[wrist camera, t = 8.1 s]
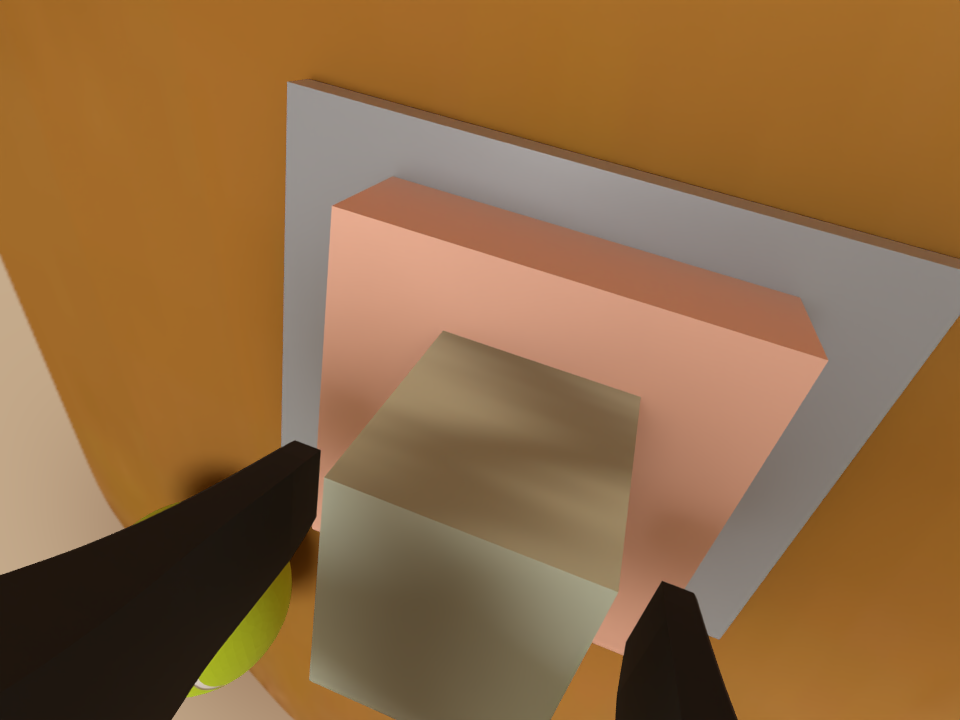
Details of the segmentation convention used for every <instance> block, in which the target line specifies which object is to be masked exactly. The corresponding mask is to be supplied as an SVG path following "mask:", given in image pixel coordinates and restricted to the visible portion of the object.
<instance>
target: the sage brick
mask: <svg viewBox="0 0 960 720" xmlns="http://www.w3.org/2000/svg"><path fill="white" fill-rule="evenodd" d="M640 399H641V397H639V396H636V395H633V394H630V393H627V392H624V391H621V390H618V389H615V388H612V387H609V386H606V385H603V384H600V383H598V382H595V381H592V380H589V379H586V378H583V377H580V376H577V375H574V374H571V373H568V372H565V371H562V370H559V369H556V368H553V367H550V366H547V365H544V364H541V363H538V362H535V361H532V360H529V359H526V358H523V357H520V356H517V355H514V354H511V353H508V352H505V351H502V350H500V349H497V348H494V347H491V346H488V345H485V344H482V343H479V342H476V341H473V340H470V339H467V338H464V337H461V336H458V335H455V334H452V333H449V332H446V331H442V333H441V334H440V335H439V336H438V338H437V339H436V340H435V341H434V342H433V344H432V345H431V346H430V347H429V349H428V350H427V351H426V352H425V354H424V355H423V356H422V357H421V359H420V360H419V361H418V362H417V363H416V365H415V366H414V367H413V368H412V370H411V371H410V372H409V373H408V375H407V376H406V377H405V378H404V379H403V381H402V382H401V383H400V384H399V386H398V387H397V388H396V389H395V391H394V392H393V393H392V394H391V396H390V397H389V398H388V399H387V400H386V402H385V403H384V404H383V405H382V407H381V408H380V409H379V410H378V412H377V413H376V414H375V415H374V416H373V418H372V419H371V420H370V421H369V423H368V424H367V425H366V426H365V428H364V429H363V430H362V431H361V433H360V434H359V435H358V436H357V437H356V439H355V440H354V441H353V442H352V444H351V445H350V446H349V447H348V449H347V450H346V451H345V452H344V453H343V455H342V456H341V457H340V458H339V460H338V461H337V462H336V463H335V465H334V466H333V467H332V468H331V470H330V471H329V472H328V473H327V474H326V476H325V477H324V486H323V500H322V514H321V527H320V541H319V555H318V568H317V582H316V596H315V609H314V623H313V637H312V650H311V664H310V678H309V680H310V681H312V682H314V683H316V684H319V685H321V686H323V687H325V688H327V689H330V690H332V691H334V692H336V693H338V694H341V695H343V696H345V697H347V698H350V699H352V700H354V701H356V702H358V703H361V704H363V705H365V706H367V707H369V708H372V709H374V710H376V711H378V712H381V713H383V714H385V715H387V716H389V717H392V718H394V719H396V720H551V718H552V716H553V714H554V712H555V710H556V708H557V706H558V705H559V703H560V701H561V699H562V697H563V695H564V693H565V691H566V690H567V688H568V686H569V684H570V682H571V680H572V678H573V676H574V675H575V673H576V671H577V669H578V667H579V665H580V663H581V661H582V660H583V658H584V656H585V654H586V652H587V650H588V648H589V647H590V645H591V643H592V641H593V639H594V637H595V635H596V633H597V632H598V630H599V628H600V626H601V624H602V622H603V620H604V618H605V617H606V615H607V613H608V611H609V609H610V607H611V605H612V603H613V602H614V600H615V598H616V596H617V594H618V592H619V583H620V574H621V565H622V557H623V548H624V539H625V530H626V522H627V513H628V504H629V495H630V487H631V478H632V469H633V461H634V452H635V443H636V434H637V426H638V417H639V408H640Z"/></svg>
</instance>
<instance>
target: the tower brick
mask: <svg viewBox="0 0 960 720" xmlns="http://www.w3.org/2000/svg"><path fill="white" fill-rule="evenodd" d="M442 331H446V332H449V333H452V334H455V335H458V336H461V337H464V338H467V339H470V340H473V341H476V342H479V343H482V344H485V345H488V346H491V347H494V348H497V349H500V350H502V351H505V352H508V353H511V354H514V355H517V356H520V357H523V358H526V359H529V360H532V361H535V362H538V363H541V364H544V365H547V366H550V367H553V368H556V369H559V370H562V371H565V372H568V373H571V374H574V375H577V376H580V377H583V378H586V379H589V380H592V381H595V382H598V383H600V384H603V385H606V386H609V387H612V388H615V389H618V390H621V391H624V392H627V393H630V394H633V395H636V396H639V397H641V399H640V408H639V417H638V426H637V434H636V443H635V452H634V461H633V469H632V478H631V487H630V495H629V504H628V513H627V522H626V530H625V539H624V548H623V557H622V565H621V574H620V583H619V592H618V594H617V596H616V598H615V600H614V602H613V603H612V605H611V607H610V609H609V611H608V613H607V615H606V617H605V618H604V620H603V622H602V624H601V626H600V628H599V630H598V632H597V633H596V635H595V637H594V639H593V641H592V643H594V644H597V645H599V646H602V647H604V648H607V649H609V650H611V651H614V652H616V653H619V654H621V655H624V650H625V644H626V641H627V639H628V637H629V636H630V634H631V632H632V631H633V629H634V627H635V626H636V624H637V622H638V620H639V619H640V617H641V615H642V614H643V612H644V610H645V609H646V607H647V605H648V604H649V602H650V600H651V598H652V597H653V595H654V593H655V592H656V590H657V588H658V587H659V585H660V583H661V581H664V582H667V583H669V584H672V585H675V586H677V587H680V588H682V589H685V587H686V586H687V584H688V583H689V581H690V579H691V578H692V576H693V575H694V573H695V571H696V570H697V568H698V567H699V565H700V563H701V562H702V560H703V559H704V557H705V556H706V554H707V552H708V551H709V549H710V548H711V546H712V544H713V543H714V541H715V540H716V538H717V537H718V535H719V533H720V532H721V530H722V529H723V527H724V525H725V524H726V522H727V521H728V519H729V518H730V516H731V514H732V513H733V511H734V510H735V508H736V506H737V505H738V503H739V502H740V500H741V498H742V497H743V495H744V494H745V492H746V491H747V489H748V487H749V486H750V484H751V483H752V481H753V479H754V478H755V476H756V475H757V473H758V472H759V470H760V468H761V467H762V465H763V464H764V462H765V460H766V459H767V457H768V456H769V454H770V452H771V451H772V449H773V448H774V446H775V445H776V443H777V441H778V440H779V438H780V437H781V435H782V433H783V432H784V430H785V429H786V427H787V426H788V424H789V422H790V421H791V419H792V418H793V416H794V414H795V413H796V411H797V410H798V408H799V407H800V405H801V403H802V402H803V400H804V399H805V397H806V395H807V394H808V392H809V391H810V389H811V387H812V386H813V384H814V383H815V381H816V380H817V378H818V376H819V375H820V373H821V372H822V370H823V368H824V367H825V365H826V364H827V362H828V361H829V360H828V358H827V356H826V354H825V352H824V349H823V347H822V345H821V343H820V340H819V338H818V336H817V334H816V332H815V329H814V327H813V325H812V323H811V321H810V318H809V316H808V314H807V312H806V309H805V307H804V305H803V303H802V301H801V298H800V297H797V296H793V295H790V294H786V293H783V292H780V291H776V290H773V289H770V288H766V287H763V286H760V285H756V284H753V283H750V282H746V281H743V280H739V279H736V278H733V277H729V276H726V275H723V274H719V273H716V272H713V271H709V270H706V269H702V268H699V267H696V266H692V265H689V264H686V263H682V262H679V261H676V260H672V259H669V258H666V257H662V256H659V255H655V254H652V253H649V252H645V251H642V250H639V249H635V248H632V247H629V246H625V245H622V244H619V243H615V242H612V241H608V240H605V239H602V238H598V237H595V236H592V235H588V234H585V233H582V232H578V231H575V230H571V229H568V228H565V227H561V226H558V225H555V224H551V223H548V222H545V221H541V220H538V219H535V218H531V217H528V216H524V215H521V214H518V213H514V212H511V211H508V210H504V209H501V208H498V207H494V206H491V205H488V204H484V203H481V202H477V201H474V200H471V199H467V198H464V197H461V196H457V195H454V194H451V193H447V192H444V191H440V190H437V189H434V188H430V187H427V186H424V185H420V184H417V183H414V182H410V181H407V180H404V179H400V178H397V177H393V176H392V177H390V178H388V179H386V180H384V181H382V182H380V183H378V184H376V185H374V186H372V187H370V188H367V189H365V190H363V191H361V192H359V193H357V194H355V195H353V196H351V197H349V198H347V199H345V200H343V201H341V202H339V203H337V204H334V205H332V211H331V227H330V244H329V260H328V276H327V293H326V309H325V325H324V342H323V358H322V374H321V391H320V407H319V423H318V440H317V449H319V450H321V457H320V472H319V487H318V502H317V517H316V519H315V521H314V522H313V524H312V529H314V530H316V531H319V532H320V527H321V514H322V500H323V486H324V477H325V476H326V474H327V473H328V472H329V471H330V470H331V468H332V467H333V466H334V465H335V463H336V462H337V461H338V460H339V458H340V457H341V456H342V455H343V453H344V452H345V451H346V450H347V449H348V447H349V446H350V445H351V444H352V442H353V441H354V440H355V439H356V437H357V436H358V435H359V434H360V433H361V431H362V430H363V429H364V428H365V426H366V425H367V424H368V423H369V421H370V420H371V419H372V418H373V416H374V415H375V414H376V413H377V412H378V410H379V409H380V408H381V407H382V405H383V404H384V403H385V402H386V400H387V399H388V398H389V397H390V396H391V394H392V393H393V392H394V391H395V389H396V388H397V387H398V386H399V384H400V383H401V382H402V381H403V379H404V378H405V377H406V376H407V375H408V373H409V372H410V371H411V370H412V368H413V367H414V366H415V365H416V363H417V362H418V361H419V360H420V359H421V357H422V356H423V355H424V354H425V352H426V351H427V350H428V349H429V347H430V346H431V345H432V344H433V342H434V341H435V340H436V339H437V338H438V336H439V335H440V334H441V333H442Z"/></svg>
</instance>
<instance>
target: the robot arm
mask: <svg viewBox="0 0 960 720" xmlns="http://www.w3.org/2000/svg"><path fill="white" fill-rule="evenodd" d="M320 457H321V450H319V449H317V448H314V447H312V446H309V445H306V444H304V443H301V442H299V441H296V440H294V441H292V442H290V443H288V444H286V445H285V446H283V447H281V448H279V449H277V450H276V451H274V452H272V453H270V454H269V455H267V456H265V457H263V458H262V459H260V460H258V461H256V462H255V463H253V464H251V465H249V466H248V467H246V468H244V469H242V470H240V471H239V472H237V473H235V474H233V475H232V476H230V477H228V478H226V479H224V480H222V481H220V482H219V483H217V484H215V485H213V486H211V487H209V488H207V489H205V490H204V491H202V492H200V493H198V494H196V495H194V496H192V497H190V498H188V499H186V500H184V501H182V502H180V503H178V504H176V505H174V506H172V507H170V508H168V509H166V510H164V511H162V512H160V513H158V514H155V515H153V516H151V517H149V518H147V519H145V520H143V521H141V522H139V523H136V524H134V525H132V526H130V527H127V528H125V529H123V530H121V531H118V532H116V533H114V534H111V535H109V536H106V537H104V538H102V539H99V540H97V541H94V542H92V543H89V544H87V545H84V546H82V547H79V548H76V549H74V550H71V551H68V552H66V553H63V554H60V555H57V556H55V557H52V558H49V559H46V560H43V561H41V562H37V563H35V564H32V565H29V566H26V567H23V568H20V569H17V570H15V571H12V572H9V573H6V574H2V575H0V720H172V718H173V717H174V715H175V713H176V712H177V710H178V709H179V707H180V706H181V704H182V703H183V701H184V700H185V698H186V697H187V695H188V694H189V692H190V691H191V689H192V688H193V686H194V685H195V683H196V682H197V680H198V679H199V677H200V676H201V674H202V673H203V671H204V670H205V669H206V667H207V666H208V664H209V663H210V662H211V660H212V659H213V658H214V656H215V655H216V654H217V652H218V651H219V650H220V648H221V647H222V646H223V645H224V643H225V642H226V641H227V640H228V638H229V637H230V636H231V634H232V633H233V632H234V631H235V629H236V628H237V627H238V626H239V624H240V623H241V622H242V621H243V619H244V618H245V617H246V616H247V614H248V613H249V612H250V611H251V609H252V608H253V607H254V606H255V604H256V603H257V602H258V600H259V599H260V598H261V597H262V595H263V594H264V593H265V592H266V590H267V589H268V588H269V587H270V585H271V584H272V583H273V581H274V580H275V579H276V578H277V576H278V575H279V574H280V572H281V571H282V570H283V569H284V567H285V566H286V565H287V563H288V562H289V561H290V560H291V558H292V556H293V555H294V553H295V552H296V550H297V548H298V547H299V545H300V544H301V542H302V541H303V539H304V537H305V536H306V534H307V532H308V531H309V529H310V527H311V526H312V524H313V522H314V521H315V519H316V517H317V502H318V487H319V472H320ZM615 720H738V719H737V717H736V714H735V711H734V709H733V706H732V703H731V701H730V698H729V695H728V693H727V690H726V687H725V684H724V681H723V679H722V676H721V673H720V670H719V667H718V664H717V661H716V658H715V655H714V652H713V649H712V646H711V643H710V639H709V636H708V633H707V630H706V627H705V623H704V620H703V617H702V614H701V610H700V607H699V603H698V600H697V598H696V596H695V594H694V593H693V592H690V591H688V590H685V589H682V588H680V587H677V586H675V585H672V584H669V583H667V582H664V581H661V583H660V585H659V587H658V588H657V590H656V592H655V593H654V595H653V597H652V598H651V600H650V602H649V604H648V605H647V607H646V609H645V610H644V612H643V614H642V615H641V617H640V619H639V620H638V622H637V624H636V626H635V627H634V629H633V631H632V632H631V634H630V636H629V637H628V639H627V641H626V644H625V650H624V656H623V661H622V667H621V673H620V679H619V686H618V692H617V702H616V719H615Z"/></svg>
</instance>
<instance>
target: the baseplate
mask: <svg viewBox="0 0 960 720" xmlns="http://www.w3.org/2000/svg"><path fill="white" fill-rule="evenodd" d="M392 176H393V177H397V178H400V179H404V180H407V181H410V182H414V183H417V184H420V185H424V186H427V187H430V188H434V189H437V190H440V191H444V192H447V193H451V194H454V195H457V196H461V197H464V198H467V199H471V200H474V201H477V202H481V203H484V204H488V205H491V206H494V207H498V208H501V209H504V210H508V211H511V212H514V213H518V214H521V215H524V216H528V217H531V218H535V219H538V220H541V221H545V222H548V223H551V224H555V225H558V226H561V227H565V228H568V229H571V230H575V231H578V232H582V233H585V234H588V235H592V236H595V237H598V238H602V239H605V240H608V241H612V242H615V243H619V244H622V245H625V246H629V247H632V248H635V249H639V250H642V251H645V252H649V253H652V254H655V255H659V256H662V257H666V258H669V259H672V260H676V261H679V262H682V263H686V264H689V265H692V266H696V267H699V268H702V269H706V270H709V271H713V272H716V273H719V274H723V275H726V276H729V277H733V278H736V279H739V280H743V281H746V282H750V283H753V284H756V285H760V286H763V287H766V288H770V289H773V290H776V291H780V292H783V293H786V294H790V295H793V296H797V297H800V298H801V301H802V303H803V305H804V307H805V309H806V312H807V314H808V316H809V318H810V321H811V323H812V325H813V327H814V329H815V332H816V334H817V336H818V338H819V340H820V343H821V345H822V347H823V349H824V352H825V354H826V356H827V358H828V360H829V361H828V362H827V364H826V365H825V367H824V368H823V370H822V372H821V373H820V375H819V376H818V378H817V380H816V381H815V383H814V384H813V386H812V387H811V389H810V391H809V392H808V394H807V395H806V397H805V399H804V400H803V402H802V403H801V405H800V407H799V408H798V410H797V411H796V413H795V414H794V416H793V418H792V419H791V421H790V422H789V424H788V426H787V427H786V429H785V430H784V432H783V433H782V435H781V437H780V438H779V440H778V441H777V443H776V445H775V446H774V448H773V449H772V451H771V452H770V454H769V456H768V457H767V459H766V460H765V462H764V464H763V465H762V467H761V468H760V470H759V472H758V473H757V475H756V476H755V478H754V479H753V481H752V483H751V484H750V486H749V487H748V489H747V491H746V492H745V494H744V495H743V497H742V498H741V500H740V502H739V503H738V505H737V506H736V508H735V510H734V511H733V513H732V514H731V516H730V518H729V519H728V521H727V522H726V524H725V525H724V527H723V529H722V530H721V532H720V533H719V535H718V537H717V538H716V540H715V541H714V543H713V544H712V546H711V548H710V549H709V551H708V552H707V554H706V556H705V557H704V559H703V560H702V562H701V563H700V565H699V567H698V568H697V570H696V571H695V573H694V575H693V576H692V578H691V579H690V581H689V583H688V584H687V586H686V587H685V590H688V591H690V592H693V593H694V594H695V596H696V598H697V600H698V603H699V607H700V610H701V614H702V617H703V620H704V623H705V627H706V630H707V633H708V635H709V636H711V637H714V638H717V639H720V638H721V637H722V635H723V634H724V633H725V631H726V630H727V629H728V627H729V626H730V624H731V623H732V622H733V620H734V619H735V618H736V616H737V615H738V614H739V612H740V611H741V610H742V608H743V607H744V606H745V604H746V603H747V602H748V600H749V599H750V597H751V596H752V595H753V593H754V592H755V591H756V589H757V588H758V587H759V585H760V584H761V583H762V581H763V580H764V579H765V577H766V576H767V574H768V573H769V572H770V570H771V569H772V568H773V566H774V565H775V564H776V562H777V561H778V560H779V558H780V557H781V556H782V554H783V553H784V552H785V550H786V549H787V547H788V546H789V545H790V543H791V542H792V541H793V539H794V538H795V537H796V535H797V534H798V533H799V531H800V530H801V529H802V527H803V526H804V525H805V523H806V522H807V520H808V519H809V518H810V516H811V515H812V514H813V512H814V511H815V510H816V508H817V507H818V506H819V504H820V503H821V502H822V500H823V499H824V498H825V496H826V495H827V493H828V492H829V491H830V489H831V488H832V487H833V485H834V484H835V483H836V481H837V480H838V479H839V477H840V476H841V475H842V473H843V472H844V470H845V469H846V468H847V466H848V465H849V464H850V462H851V461H852V460H853V458H854V457H855V456H856V454H857V453H858V452H859V450H860V449H861V448H862V446H863V445H864V443H865V442H866V441H867V439H868V438H869V437H870V435H871V434H872V433H873V431H874V430H875V429H876V427H877V426H878V425H879V423H880V422H881V421H882V419H883V418H884V416H885V415H886V414H887V412H888V411H889V410H890V408H891V407H892V406H893V404H894V403H895V402H896V400H897V399H898V398H899V396H900V395H901V393H902V392H903V391H904V389H905V388H906V387H907V385H908V384H909V383H910V381H911V380H912V379H913V377H914V376H915V375H916V373H917V372H918V371H919V369H920V368H921V366H922V365H923V364H924V362H925V361H926V360H927V358H928V357H929V356H930V354H931V353H932V352H933V350H934V349H935V348H936V346H937V345H938V344H939V342H940V341H941V339H942V338H943V337H944V335H945V334H946V333H947V331H948V330H949V329H950V327H951V326H952V325H953V323H954V322H955V321H956V319H957V318H958V317H959V315H960V259H958V258H954V257H950V256H947V255H943V254H940V253H936V252H932V251H929V250H925V249H922V248H918V247H914V246H911V245H907V244H903V243H900V242H896V241H893V240H889V239H885V238H882V237H878V236H875V235H871V234H867V233H864V232H860V231H856V230H853V229H849V228H846V227H842V226H838V225H835V224H831V223H828V222H824V221H820V220H817V219H813V218H810V217H806V216H802V215H799V214H795V213H791V212H788V211H784V210H781V209H777V208H773V207H770V206H766V205H763V204H759V203H755V202H752V201H748V200H744V199H741V198H737V197H734V196H730V195H726V194H723V193H719V192H716V191H712V190H708V189H705V188H701V187H697V186H694V185H690V184H687V183H683V182H679V181H676V180H672V179H669V178H665V177H661V176H658V175H654V174H651V173H647V172H643V171H640V170H636V169H632V168H629V167H625V166H622V165H618V164H614V163H611V162H607V161H604V160H600V159H596V158H593V157H589V156H585V155H582V154H578V153H575V152H571V151H567V150H564V149H560V148H557V147H553V146H549V145H546V144H542V143H538V142H535V141H531V140H528V139H524V138H520V137H517V136H513V135H510V134H506V133H502V132H499V131H495V130H492V129H488V128H484V127H481V126H477V125H473V124H470V123H466V122H463V121H459V120H455V119H452V118H448V117H445V116H441V115H437V114H434V113H430V112H426V111H423V110H419V109H416V108H412V107H408V106H405V105H401V104H398V103H394V102H390V101H387V100H383V99H379V98H376V97H372V96H369V95H365V94H361V93H358V92H354V91H351V90H347V89H343V88H340V87H336V86H333V85H329V84H325V83H322V82H318V81H314V80H311V79H306V80H298V81H289V82H287V137H286V197H285V257H284V317H283V378H282V438H281V447H283V446H285V445H286V444H288V443H290V442H292V441H294V440H296V441H299V442H301V443H304V444H306V445H309V446H312V447H314V448H317V440H318V423H319V407H320V391H321V374H322V358H323V342H324V325H325V309H326V293H327V276H328V260H329V244H330V227H331V211H332V205H334V204H337V203H339V202H341V201H343V200H345V199H347V198H349V197H351V196H353V195H355V194H357V193H359V192H361V191H363V190H365V189H367V188H370V187H372V186H374V185H376V184H378V183H380V182H382V181H384V180H386V179H388V178H390V177H392Z"/></svg>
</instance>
